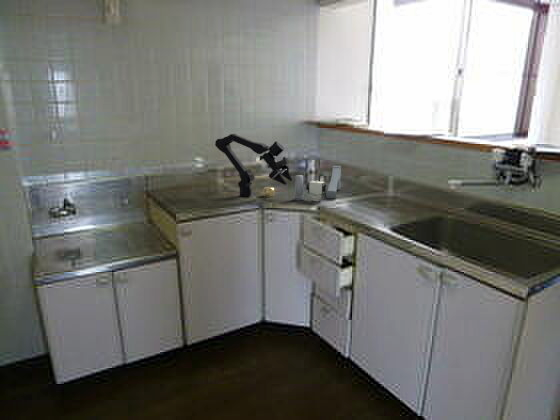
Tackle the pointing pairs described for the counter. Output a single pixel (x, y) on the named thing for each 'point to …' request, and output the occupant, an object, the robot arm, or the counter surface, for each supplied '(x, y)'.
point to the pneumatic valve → (317, 189)
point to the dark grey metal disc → (299, 199)
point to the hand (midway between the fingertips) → (288, 182)
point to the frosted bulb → (299, 187)
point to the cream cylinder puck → (269, 192)
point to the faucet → (334, 183)
